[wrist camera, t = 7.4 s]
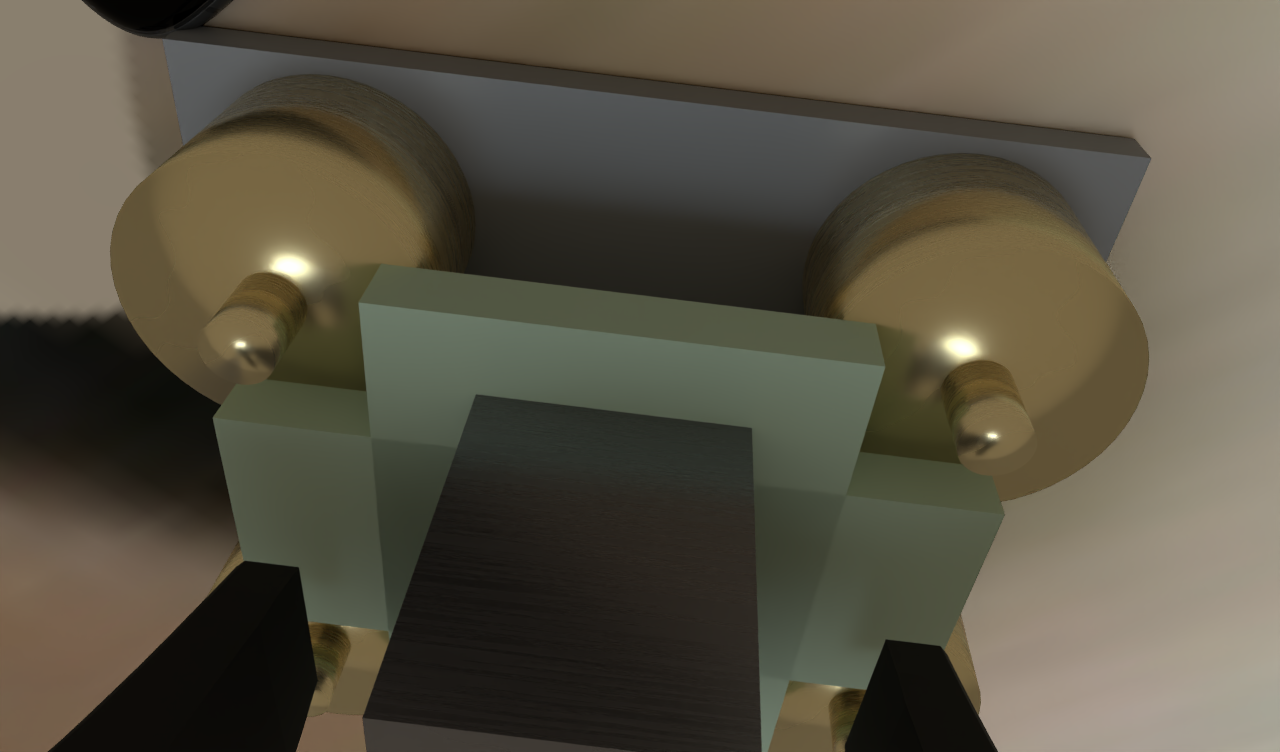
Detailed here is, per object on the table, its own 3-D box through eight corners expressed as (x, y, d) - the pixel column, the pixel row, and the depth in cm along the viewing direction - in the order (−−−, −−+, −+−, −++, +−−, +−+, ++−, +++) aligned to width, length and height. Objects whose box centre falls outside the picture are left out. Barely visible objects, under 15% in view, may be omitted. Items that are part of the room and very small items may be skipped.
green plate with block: (292, 650, 15) (135, 1002, 11) (216, 243, 10) (-83, 577, 7) (882, 723, 15) (937, 1102, 11) (1041, 344, 10) (1224, 738, 7)
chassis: (283, 567, 18) (185, 762, 15) (184, 24, 12) (-12, 151, 9) (920, 645, 18) (962, 857, 15) (1134, 138, 12) (1281, 308, 9)
